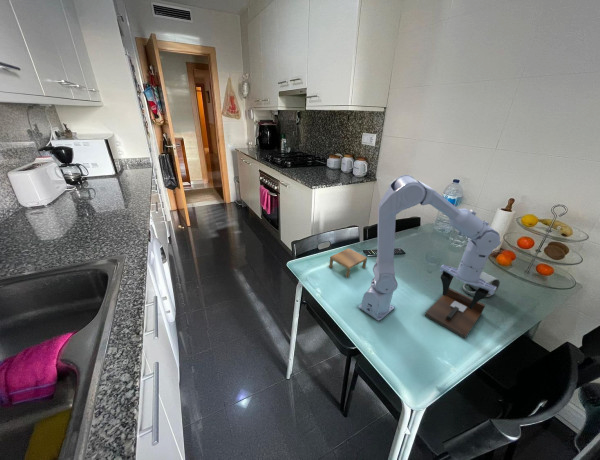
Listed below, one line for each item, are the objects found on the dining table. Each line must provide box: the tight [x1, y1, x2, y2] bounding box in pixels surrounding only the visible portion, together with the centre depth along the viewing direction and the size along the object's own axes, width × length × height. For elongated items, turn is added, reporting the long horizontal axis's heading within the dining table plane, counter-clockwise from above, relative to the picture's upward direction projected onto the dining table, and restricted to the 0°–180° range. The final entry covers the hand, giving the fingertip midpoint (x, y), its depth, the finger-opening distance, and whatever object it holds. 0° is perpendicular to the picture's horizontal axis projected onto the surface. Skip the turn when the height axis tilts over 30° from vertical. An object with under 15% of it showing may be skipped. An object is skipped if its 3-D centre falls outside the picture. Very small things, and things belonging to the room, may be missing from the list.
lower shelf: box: [424, 287, 486, 340], centre depth 82 cm, size 16×12×4 cm
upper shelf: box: [328, 247, 368, 279], centre depth 105 cm, size 12×10×5 cm
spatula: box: [446, 301, 467, 321], centre depth 82 cm, size 11×4×1 cm, turn 131°
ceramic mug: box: [462, 270, 501, 298], centre depth 93 cm, size 11×8×8 cm
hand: (457, 300), depth 78 cm, fingers open, 7 cm apart
